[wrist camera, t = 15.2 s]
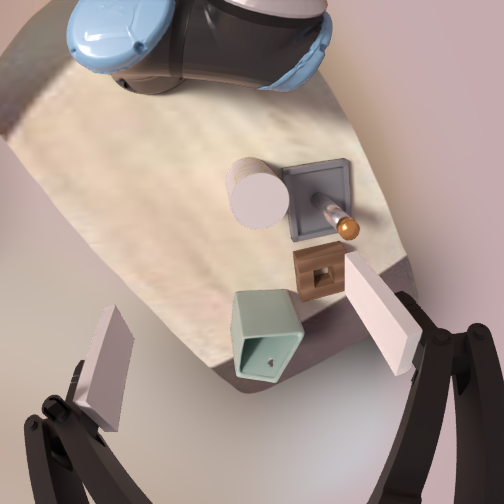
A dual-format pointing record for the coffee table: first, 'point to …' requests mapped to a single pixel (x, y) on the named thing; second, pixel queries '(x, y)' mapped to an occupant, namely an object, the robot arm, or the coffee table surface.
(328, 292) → the block
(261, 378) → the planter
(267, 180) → the white cylinder
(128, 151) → the coffee table surface
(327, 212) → the pin
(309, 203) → the tray
